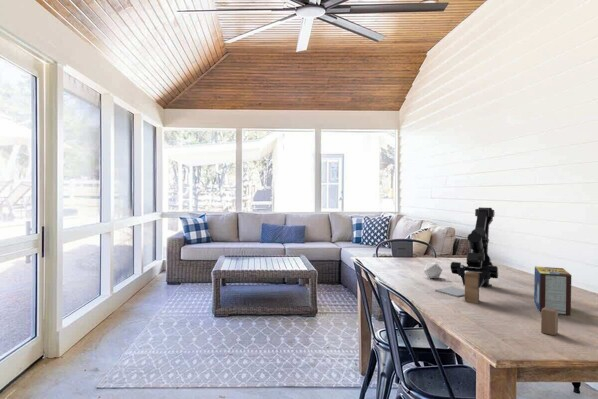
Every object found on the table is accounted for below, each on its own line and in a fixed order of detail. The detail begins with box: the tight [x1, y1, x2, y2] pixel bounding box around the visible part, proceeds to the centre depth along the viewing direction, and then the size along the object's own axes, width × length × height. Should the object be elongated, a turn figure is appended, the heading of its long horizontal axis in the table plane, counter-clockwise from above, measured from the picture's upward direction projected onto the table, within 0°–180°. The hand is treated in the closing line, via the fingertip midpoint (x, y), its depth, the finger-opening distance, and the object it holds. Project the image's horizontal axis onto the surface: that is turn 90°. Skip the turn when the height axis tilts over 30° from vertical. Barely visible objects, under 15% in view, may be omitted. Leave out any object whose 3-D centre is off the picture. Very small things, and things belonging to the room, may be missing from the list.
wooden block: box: [540, 307, 559, 336], centre depth 129 cm, size 4×4×8 cm
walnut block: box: [464, 271, 480, 304], centre depth 167 cm, size 5×5×12 cm
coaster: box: [435, 286, 465, 298], centre depth 182 cm, size 12×12×1 cm
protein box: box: [533, 265, 572, 316], centre depth 157 cm, size 10×15×16 cm
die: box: [423, 262, 443, 279], centre depth 212 cm, size 8×9×10 cm
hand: (471, 286), depth 166 cm, fingers open, 6 cm apart
